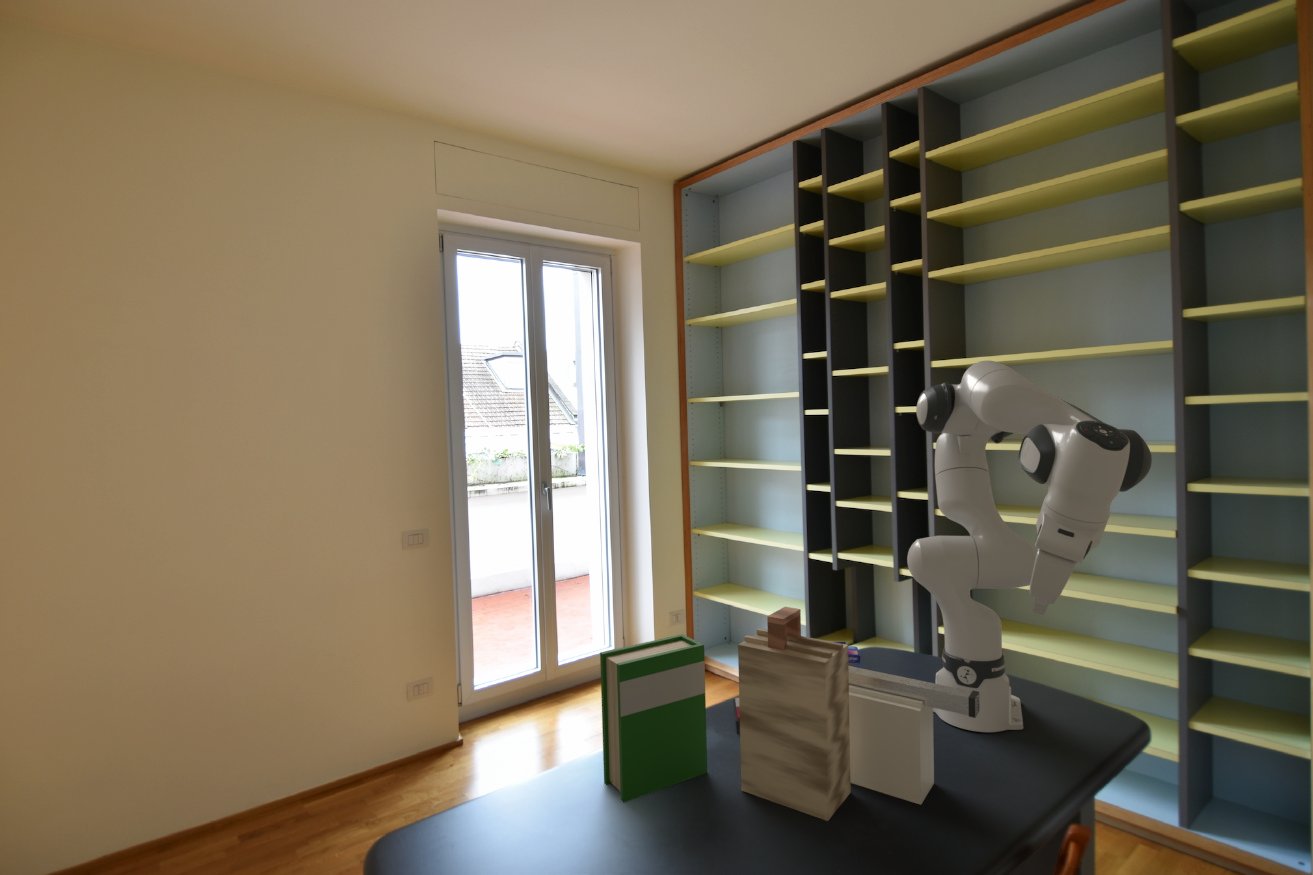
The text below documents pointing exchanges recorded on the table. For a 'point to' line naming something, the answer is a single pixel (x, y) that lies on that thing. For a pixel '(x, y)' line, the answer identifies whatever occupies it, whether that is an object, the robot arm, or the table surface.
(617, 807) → the table surface
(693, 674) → the hardback book
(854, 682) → the grey square bar
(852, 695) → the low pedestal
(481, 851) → the table surface
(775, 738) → the paper bag with handle
